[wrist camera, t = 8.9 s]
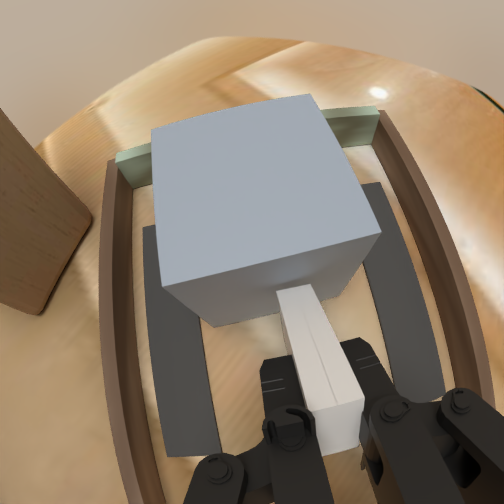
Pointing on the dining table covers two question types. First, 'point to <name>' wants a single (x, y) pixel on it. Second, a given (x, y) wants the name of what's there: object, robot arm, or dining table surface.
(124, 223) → the u-shaped frame
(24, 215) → the wooden block
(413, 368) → the pads
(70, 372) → the dining table surface
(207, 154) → the slate block
